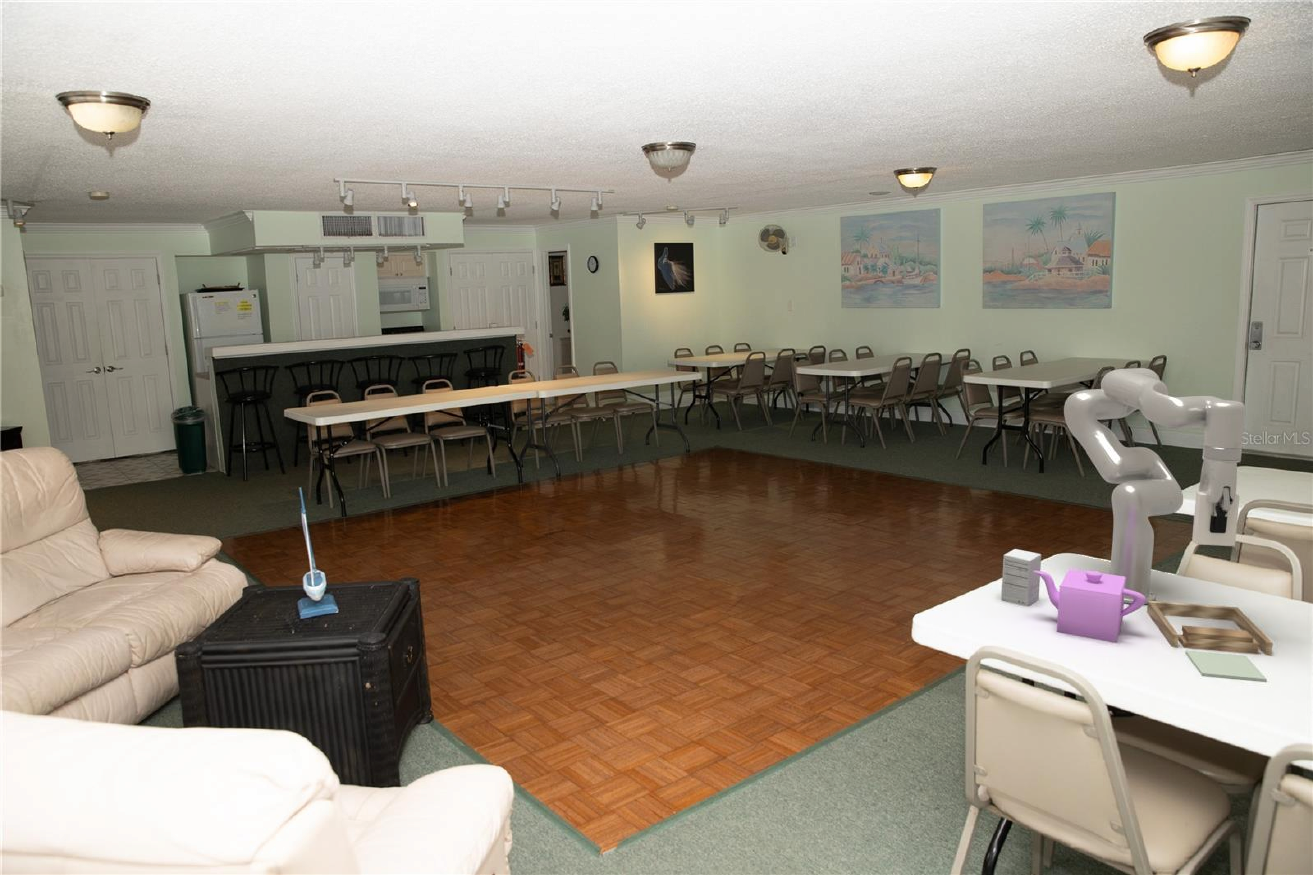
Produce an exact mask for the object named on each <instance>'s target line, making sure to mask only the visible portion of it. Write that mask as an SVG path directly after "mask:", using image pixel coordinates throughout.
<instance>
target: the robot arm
mask: <svg viewBox="0 0 1313 875" xmlns="http://www.w3.org/2000/svg"><path fill="white" fill-rule="evenodd" d="M1100 387H1101V388H1099V389H1098V388H1096V389H1092V388H1091V389H1083V390H1079V391H1076V392H1073V393H1072V394H1070V395H1069V396H1068V397H1067V399H1066V400H1065V402H1064V406H1063V415H1064V420H1065V424H1066V426H1067V428H1068V429H1069V432H1070V433H1071V434H1072V435H1073V437H1074V438H1075V440H1077V441H1078V443H1079V444H1080V445H1081V446H1082V447H1083V449H1084V450H1085V452H1086V455H1087V456H1088V458H1089V459H1090V461H1091V462H1092V464H1093V465H1094V466H1095V468H1096V470H1097V472H1098V473H1099V474H1100V476H1101V477H1102V479H1103V480H1104V481H1106V483H1109V484H1118V485H1117V486H1116V487H1115V488H1114V489H1113V491H1112V493H1111V507H1112V514H1113V516H1112V517H1113V528H1112V546H1111V553H1110V554H1111V557H1110V570H1109V574H1110V575H1117V576H1124V577H1126V584H1125V589H1128V590H1132V591H1136V592H1138V593H1141V594H1142V595H1144V596H1145V598H1146V602H1145V603H1144V605H1148V601H1156V598H1157V597H1156V594H1155V593H1154V592H1153V591H1151V588H1150V587H1151V585H1150V584H1151V577H1152V564H1153V553H1154V541H1155V533H1154V532H1155V531H1154V529H1153V527H1152V524H1151V522H1150V521H1149V517H1153V516H1164V515H1171V514H1173V513H1176V512H1178V511H1179V510H1180V509H1181V508H1182V506H1183V504H1184V494H1183V493H1184V492H1183V491H1182V489H1181V486H1180V485H1179V483H1178V482H1177V480H1176V478H1175V477H1174V476H1173V474H1172V473H1171V471H1170V470H1169V468H1168V467H1167V466H1166V463H1165V462H1164V461H1163V460H1162V458H1161V457H1160V456H1159V454H1158V453H1156V452H1155V451H1153V450H1152V449H1150V448H1148V447H1144V446H1143V447H1142V446H1136V447H1135V446H1134V447H1128V446H1127V447H1126V446H1124V445H1123V444H1122V443H1121V442H1120V440H1119V439H1118V438H1117V436H1116V434H1115V433H1114V432H1113V431H1112V430H1111V429H1110V428H1109V427H1107V426H1106V425H1105V424H1102V423H1101V422H1100V421H1098V420H1101V421H1102V420H1112V419H1113V420H1116V419H1121V418H1126V417H1128V416H1129V415H1131V414H1132V413H1134V412H1135V411H1137V410H1139V411H1140V412H1141V415H1143V417H1144V418H1145V419H1146V420H1148V421H1150V422H1152V423H1154V424H1156V425H1160V426H1163V427H1166V428H1169V429H1175V430H1179V429H1180V430H1184V429H1195V428H1196V429H1198V428H1204V433H1203V434H1204V436H1203V446H1202V447H1203V448H1202V458H1201V459H1202V460H1203V462H1202V467H1201V473H1200V478H1199V479H1200V480H1199V485H1198V486H1199V487H1198V492H1203V493H1205V494H1206V495H1207V497H1206V501H1207V502H1209V503H1210V504H1213V516H1211V520H1210V532H1211V533H1226V525H1227V517H1228V511H1229V510H1230V505H1231V504H1233V503H1234V502H1235V496H1236V494H1237V480H1238V466H1237V465H1238V464H1237V463H1241V461H1242V452H1243V451H1242V450H1243V440H1244V439H1243V438H1244V430H1245V429H1244V427H1245V421H1246V420H1245V419H1246V418H1245V417H1246V406H1245V404H1244V403H1243V402H1241V401H1237V400H1232V399H1231V400H1227V399H1222V398H1219V397H1217V396H1213V395H1199V396H1197V395H1196V396H1192V395H1191V396H1179V397H1176V396H1175V397H1174V396H1171V395H1169V393H1168V392H1169V391H1168V387H1167V385H1166V384H1165V383H1164V382H1163V381H1161V379H1160V377H1159V375H1158V373H1156V372H1155V371H1154V370H1152V369H1150V368H1145V367H1136V368H1118V369H1114V370H1111V371H1109V372H1107V373H1106V374H1105V375H1104V376H1103V378H1102V379H1101V382H1100ZM1229 496H1230V498H1229ZM1218 501H1222V503H1217V502H1218ZM1218 506H1221V507H1219V508H1218V509H1217V507H1218ZM1133 601H1134V598H1133V597H1131V596H1129V595H1125V597H1124V604H1129V605H1130V604H1131V603H1132V602H1133Z"/></svg>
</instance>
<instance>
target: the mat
mask: <svg viewBox="0 0 1313 875" xmlns="http://www.w3.org/2000/svg"><path fill="white" fill-rule="evenodd" d="M1184 653H1185V654H1186V656H1187V657H1188V659H1189V661H1191V663H1192V665H1193V666H1194V667H1195V668H1196V670H1197V671H1198V672H1199V673H1200V675H1201V676H1202V677H1203V676H1204V677H1211V678H1212V677H1214V678H1222V679H1224V678H1225V679H1233V680H1234V679H1235V680H1245V681H1254V682H1255V681H1256V682H1267V680H1268V679H1267V678H1266V677H1265V676H1264V674H1263V673H1262V672H1261V671H1260V670H1259V668H1258V667H1257V666H1256V665H1255V664H1254V663H1253V662H1252V661H1251V659H1250V658H1248V656H1247V655H1242V654H1231V653H1220V652H1208V651H1207V652H1206V651H1199V650H1198V651H1196V650H1188V649H1187V650H1185V652H1184Z"/></svg>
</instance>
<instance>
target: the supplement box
mask: <svg viewBox="0 0 1313 875" xmlns="http://www.w3.org/2000/svg"><path fill="white" fill-rule="evenodd" d="M1002 558H1003V561H1002V575H1001V576H1002V579H1001V580H1002V582H1001V597H1000V599H1001V600H1002V601H1005V602H1009V603H1013V604H1017V605H1021V606H1025V607H1029V606H1031V604H1033V603H1035V602H1036V601H1038V600H1039V598H1040V584H1041V581H1040V580H1041V576H1039V575H1038V574H1037V573H1035V572H1033V571H1041V564H1042V554H1041V553H1038V552H1032V551H1027V550H1022V549H1017V548H1014V549H1012V550H1010V551H1008V552H1007V553H1005V554H1003V557H1002Z"/></svg>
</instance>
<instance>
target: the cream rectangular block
mask: <svg viewBox="0 0 1313 875" xmlns="http://www.w3.org/2000/svg"><path fill="white" fill-rule="evenodd" d="M1206 497H1207V495H1206V494H1205V493H1203V492H1199V491H1196V493H1195V504H1194V514H1193V515H1194V516H1193V527H1192V537H1191V538H1192V540H1191V541H1192V542H1193V543H1194V544H1195V545H1199V546H1200V545H1202V546H1203V545H1204V546H1206V545H1207V546H1223V547H1224V546H1225V547H1235V546H1236V536H1237V526H1238V516H1239V508H1240V506H1239V504H1240V495H1239V494H1237V493H1236V496H1235V502H1234V503H1233V504H1231V505H1230V510H1229V511H1228V517H1227V525H1226V533H1211V532H1210V520H1211V516H1213V504H1210V503H1209V502H1207V501H1206ZM1229 498H1230V496H1229ZM1217 503H1222V501H1218V502H1217ZM1219 507H1221V506H1218V507H1217V509H1218V508H1219Z"/></svg>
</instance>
